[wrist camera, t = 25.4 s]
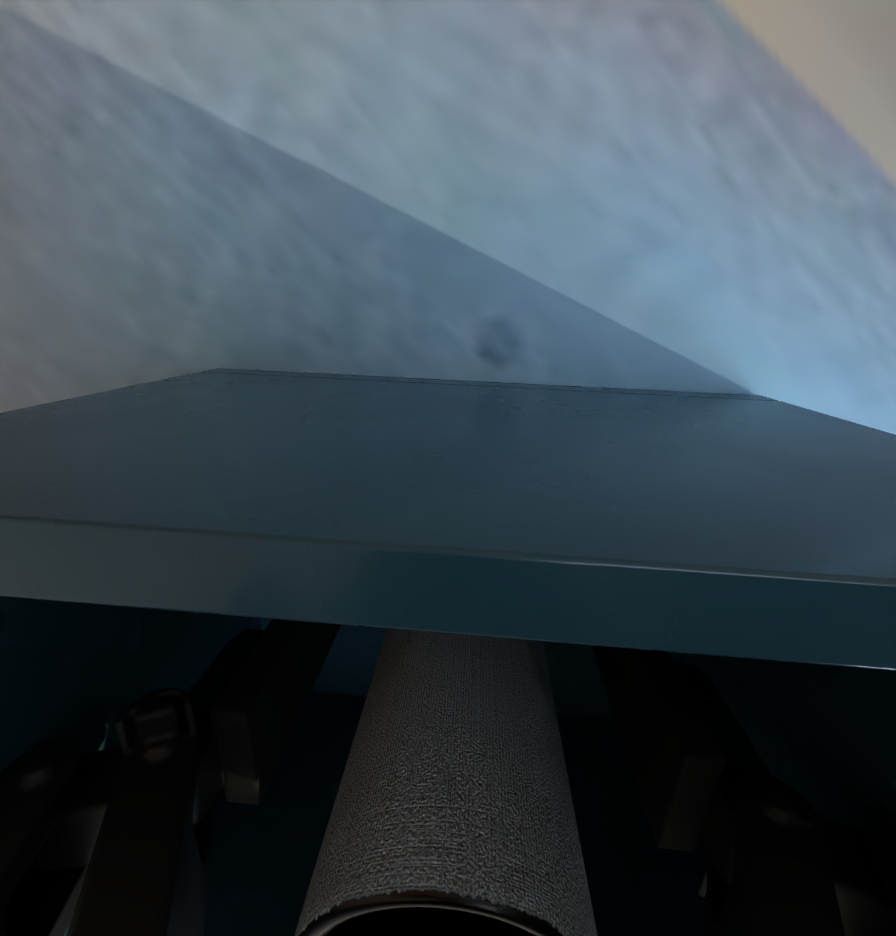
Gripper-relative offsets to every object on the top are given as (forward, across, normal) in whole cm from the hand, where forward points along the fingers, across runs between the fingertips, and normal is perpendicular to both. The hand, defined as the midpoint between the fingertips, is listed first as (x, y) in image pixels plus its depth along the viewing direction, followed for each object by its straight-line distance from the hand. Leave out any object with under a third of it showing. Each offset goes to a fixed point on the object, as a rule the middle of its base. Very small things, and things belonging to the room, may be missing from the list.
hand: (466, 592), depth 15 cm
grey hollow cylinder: (+1, 0, 0) cm, 1 cm away
